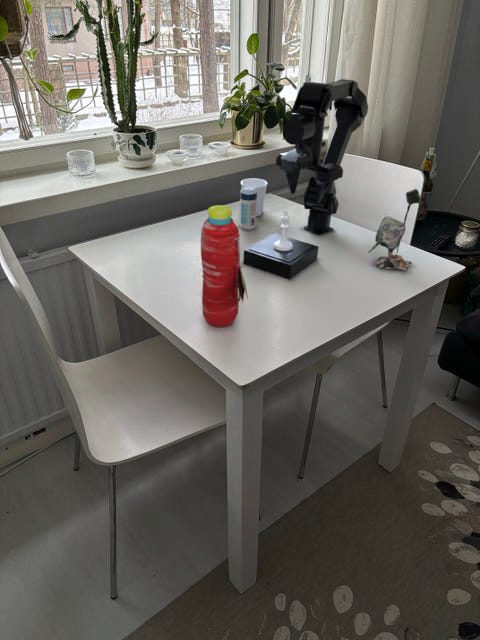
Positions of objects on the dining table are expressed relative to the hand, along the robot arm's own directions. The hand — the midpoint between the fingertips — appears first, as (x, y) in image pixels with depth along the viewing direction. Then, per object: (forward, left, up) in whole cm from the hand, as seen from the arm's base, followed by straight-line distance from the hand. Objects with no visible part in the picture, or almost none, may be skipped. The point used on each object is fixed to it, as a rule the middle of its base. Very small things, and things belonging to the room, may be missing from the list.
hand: (305, 197), depth 131 cm
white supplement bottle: (+5, -17, -13) cm, 22 cm away
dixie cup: (-4, -25, -13) cm, 29 cm away
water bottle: (+42, +20, -13) cm, 48 cm away
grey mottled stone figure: (-9, +24, -13) cm, 28 cm away
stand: (+13, +6, -13) cm, 19 cm away
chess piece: (+13, +6, -9) cm, 17 cm away
